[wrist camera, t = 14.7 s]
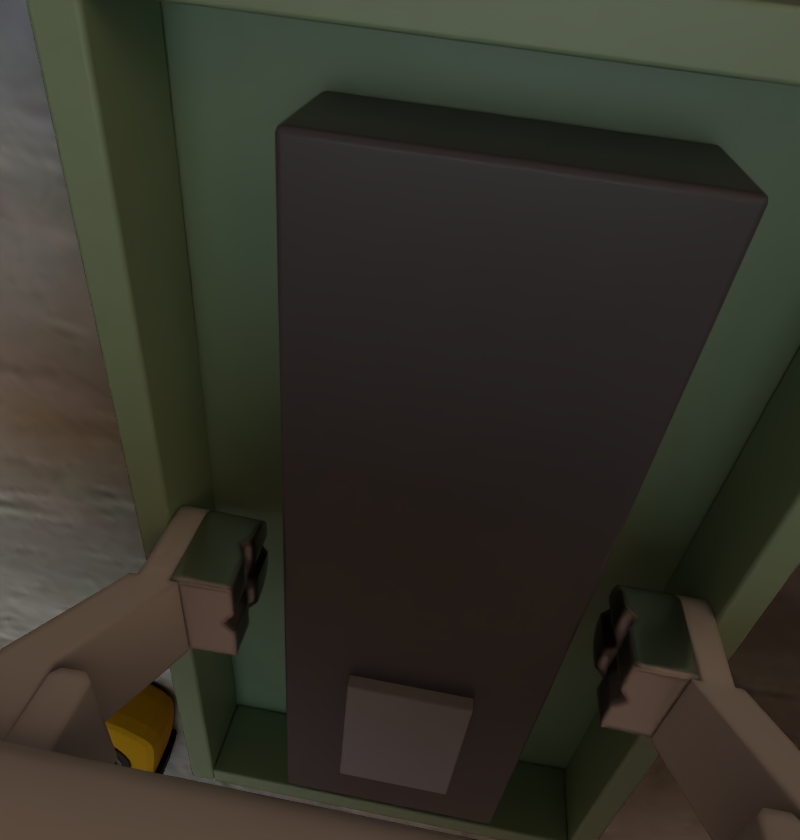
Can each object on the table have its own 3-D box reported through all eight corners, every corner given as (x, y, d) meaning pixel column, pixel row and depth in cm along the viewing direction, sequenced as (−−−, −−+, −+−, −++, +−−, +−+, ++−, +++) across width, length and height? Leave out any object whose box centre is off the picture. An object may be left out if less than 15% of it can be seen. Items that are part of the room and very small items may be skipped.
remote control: (183, 769, 18) (76, 896, 26) (210, 703, 19) (100, 843, 28) (11, 700, 17) (-41, 855, 25) (54, 637, 18) (-9, 803, 27)
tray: (1001, 23, 7) (1176, 53, 5) (579, 760, 18) (585, 858, 16) (127, -88, 8) (1, -96, 6) (225, 690, 19) (191, 776, 17)
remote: (723, 144, 8) (784, 205, 6) (493, 743, 17) (490, 837, 15) (319, 88, 8) (264, 130, 6) (308, 706, 17) (283, 795, 15)
